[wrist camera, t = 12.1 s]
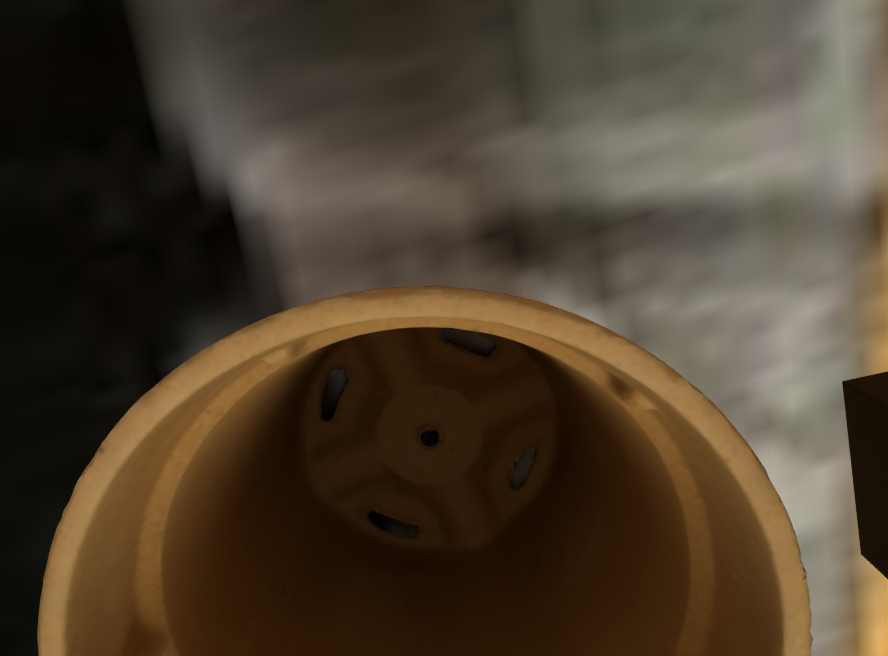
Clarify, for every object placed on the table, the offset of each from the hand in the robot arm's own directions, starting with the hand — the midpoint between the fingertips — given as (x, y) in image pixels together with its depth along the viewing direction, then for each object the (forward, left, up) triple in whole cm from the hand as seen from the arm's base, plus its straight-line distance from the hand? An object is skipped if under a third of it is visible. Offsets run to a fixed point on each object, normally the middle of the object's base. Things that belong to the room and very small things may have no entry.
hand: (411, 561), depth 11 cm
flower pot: (0, 0, -7) cm, 7 cm away
